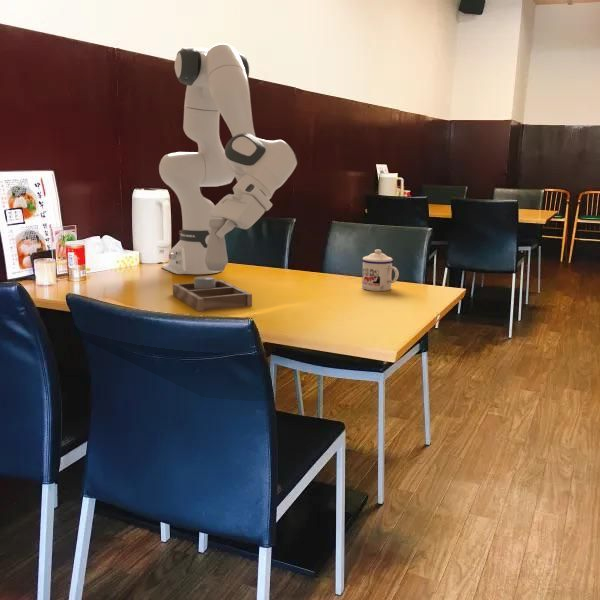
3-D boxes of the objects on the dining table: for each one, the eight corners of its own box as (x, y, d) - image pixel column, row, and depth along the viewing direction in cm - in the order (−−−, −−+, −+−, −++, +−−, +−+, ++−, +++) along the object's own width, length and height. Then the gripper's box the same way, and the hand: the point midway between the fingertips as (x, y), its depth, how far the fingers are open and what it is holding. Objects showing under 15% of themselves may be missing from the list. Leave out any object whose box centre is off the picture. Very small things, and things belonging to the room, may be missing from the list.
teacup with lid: (354, 288, 185) (356, 249, 183) (373, 284, 192) (374, 246, 189) (387, 294, 177) (389, 254, 175) (405, 290, 184) (408, 251, 181)
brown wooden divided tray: (173, 298, 168) (172, 283, 167) (221, 293, 175) (221, 279, 174) (199, 315, 151) (198, 299, 150) (252, 309, 157) (252, 294, 156)
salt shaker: (222, 272, 153) (224, 219, 150) (200, 270, 154) (202, 217, 152) (230, 269, 159) (232, 217, 156) (210, 267, 160) (211, 216, 157)
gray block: (190, 296, 167) (189, 278, 165) (207, 293, 170) (207, 275, 169) (202, 299, 163) (202, 281, 162) (219, 296, 166) (219, 278, 165)
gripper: (226, 184, 164) (191, 222, 162) (258, 187, 147) (220, 231, 144) (241, 201, 167) (208, 239, 165) (275, 206, 150) (238, 249, 147)
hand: (214, 235), depth 155 cm, fingers closed on salt shaker, 3 cm apart
